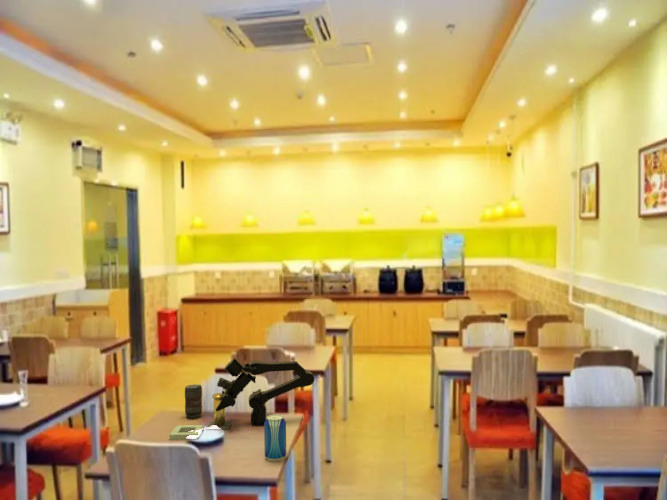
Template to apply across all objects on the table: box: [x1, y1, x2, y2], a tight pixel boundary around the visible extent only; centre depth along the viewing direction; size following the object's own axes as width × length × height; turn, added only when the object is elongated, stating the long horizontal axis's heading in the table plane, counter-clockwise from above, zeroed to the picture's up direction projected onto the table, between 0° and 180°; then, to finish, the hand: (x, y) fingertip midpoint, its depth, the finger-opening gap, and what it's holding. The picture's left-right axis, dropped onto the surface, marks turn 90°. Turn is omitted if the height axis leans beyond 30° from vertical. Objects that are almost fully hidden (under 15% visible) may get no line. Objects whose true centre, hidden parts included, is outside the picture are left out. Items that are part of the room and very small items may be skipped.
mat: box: [206, 420, 233, 431], centre depth 250 cm, size 10×10×1 cm
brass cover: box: [212, 392, 226, 425], centre depth 250 cm, size 6×6×13 cm
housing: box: [168, 424, 205, 441], centre depth 239 cm, size 12×12×2 cm
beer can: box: [263, 414, 287, 463], centre depth 212 cm, size 8×8×16 cm
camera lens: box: [184, 384, 203, 420], centre depth 264 cm, size 8×8×15 cm
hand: (216, 409), depth 250 cm, fingers closed on brass cover, 5 cm apart
